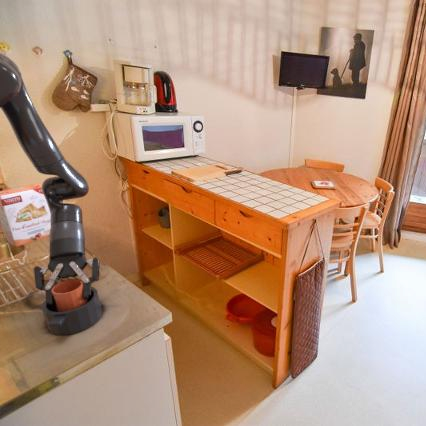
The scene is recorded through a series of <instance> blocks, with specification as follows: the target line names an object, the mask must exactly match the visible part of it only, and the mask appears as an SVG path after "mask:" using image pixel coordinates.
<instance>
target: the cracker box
mask: <svg viewBox="0 0 426 426" xmlns="http://www.w3.org/2000/svg"><path fill="white" fill-rule="evenodd" d="M0 222H1V227H2V229H3V231H4V234H5V237H6V240H7V243H8V244H10V245H11V246H13V247H15V248H16V247H17V248H18V247H20V246H24V245H26V244H29V243H32V242H35V241H39V240H41V239H44V238H47V237H50V228H51V214H50V210H49V207H48V204H47V201H46V199H45V196H44V194H43V192H42V184H41V183H34V184H30V185H23V186H19V187H13V188H9V189H8V188H7V189H4V190H0Z"/></svg>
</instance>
